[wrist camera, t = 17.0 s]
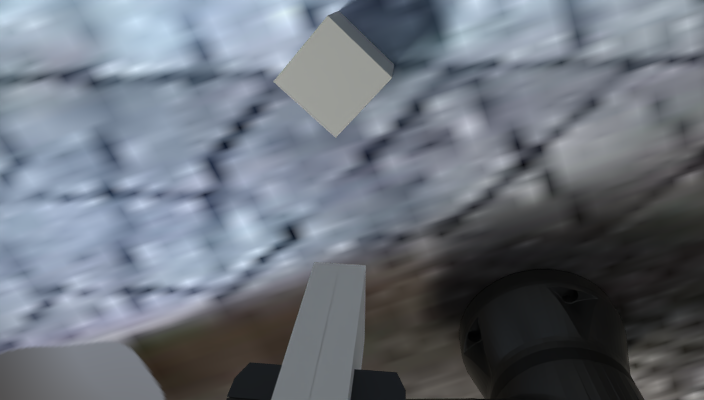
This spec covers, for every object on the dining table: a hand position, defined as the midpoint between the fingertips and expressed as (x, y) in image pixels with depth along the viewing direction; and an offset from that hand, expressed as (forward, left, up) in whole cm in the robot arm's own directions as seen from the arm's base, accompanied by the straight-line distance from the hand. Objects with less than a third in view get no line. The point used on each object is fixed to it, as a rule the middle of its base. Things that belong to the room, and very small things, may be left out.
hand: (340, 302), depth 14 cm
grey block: (+4, +2, -29) cm, 29 cm away
